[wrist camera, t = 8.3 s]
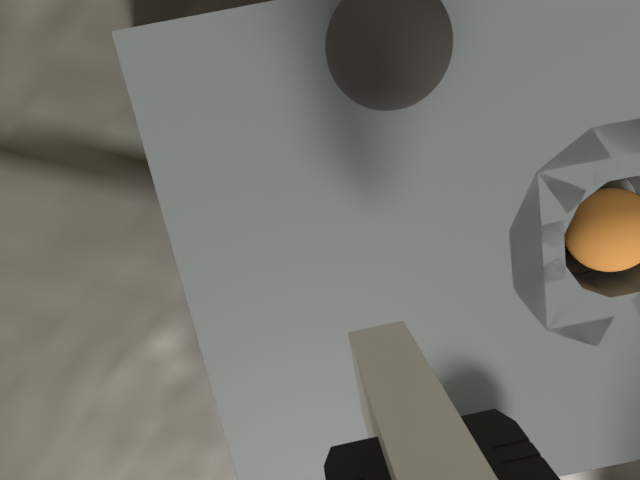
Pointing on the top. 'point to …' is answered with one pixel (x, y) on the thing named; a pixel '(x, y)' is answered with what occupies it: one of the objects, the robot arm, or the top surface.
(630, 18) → the plate
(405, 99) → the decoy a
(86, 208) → the top surface
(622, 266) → the ball
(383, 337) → the robot arm
